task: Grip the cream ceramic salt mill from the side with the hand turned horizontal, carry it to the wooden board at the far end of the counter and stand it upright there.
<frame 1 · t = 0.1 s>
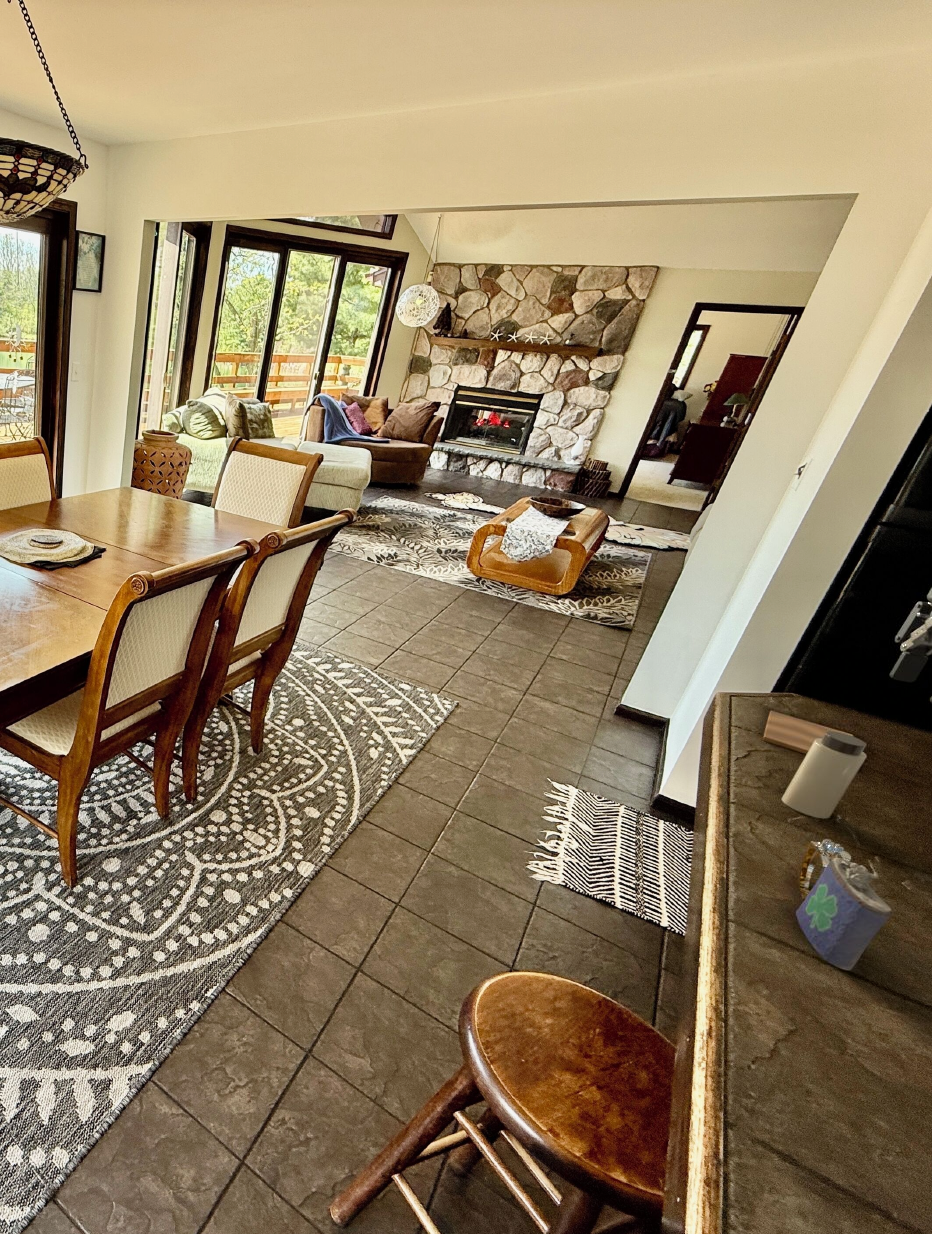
hand: (920, 692, 84), 22 cm above the countertop, tool pointing down, fingers open, 8 cm apart
ring: (800, 898, 79), on the countertop
flask: (815, 944, 73), on the countertop
wooden board: (807, 739, 118), on the countertop
salt mill: (805, 807, 97), on the countertop
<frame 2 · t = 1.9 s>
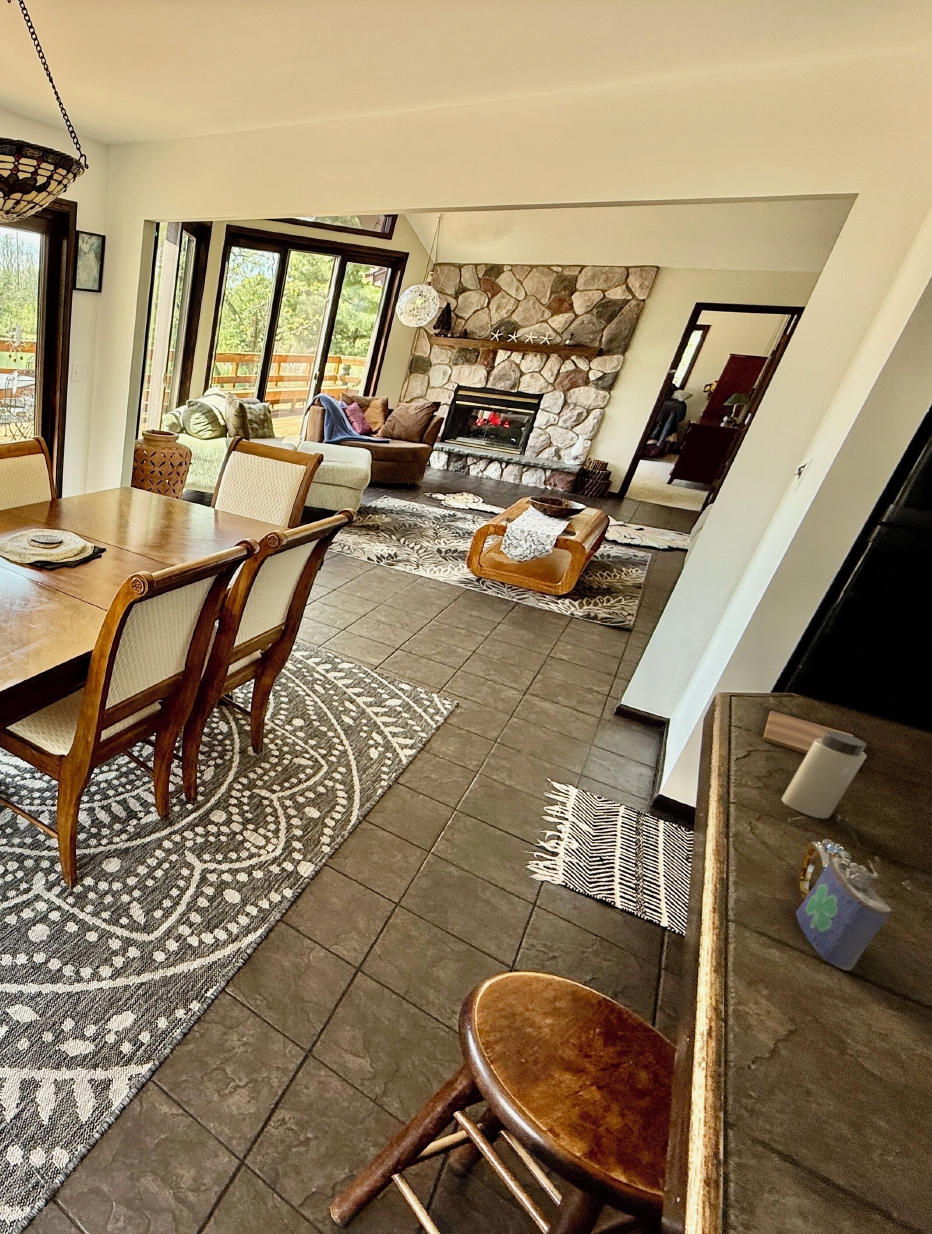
nothing on the countertop moved.
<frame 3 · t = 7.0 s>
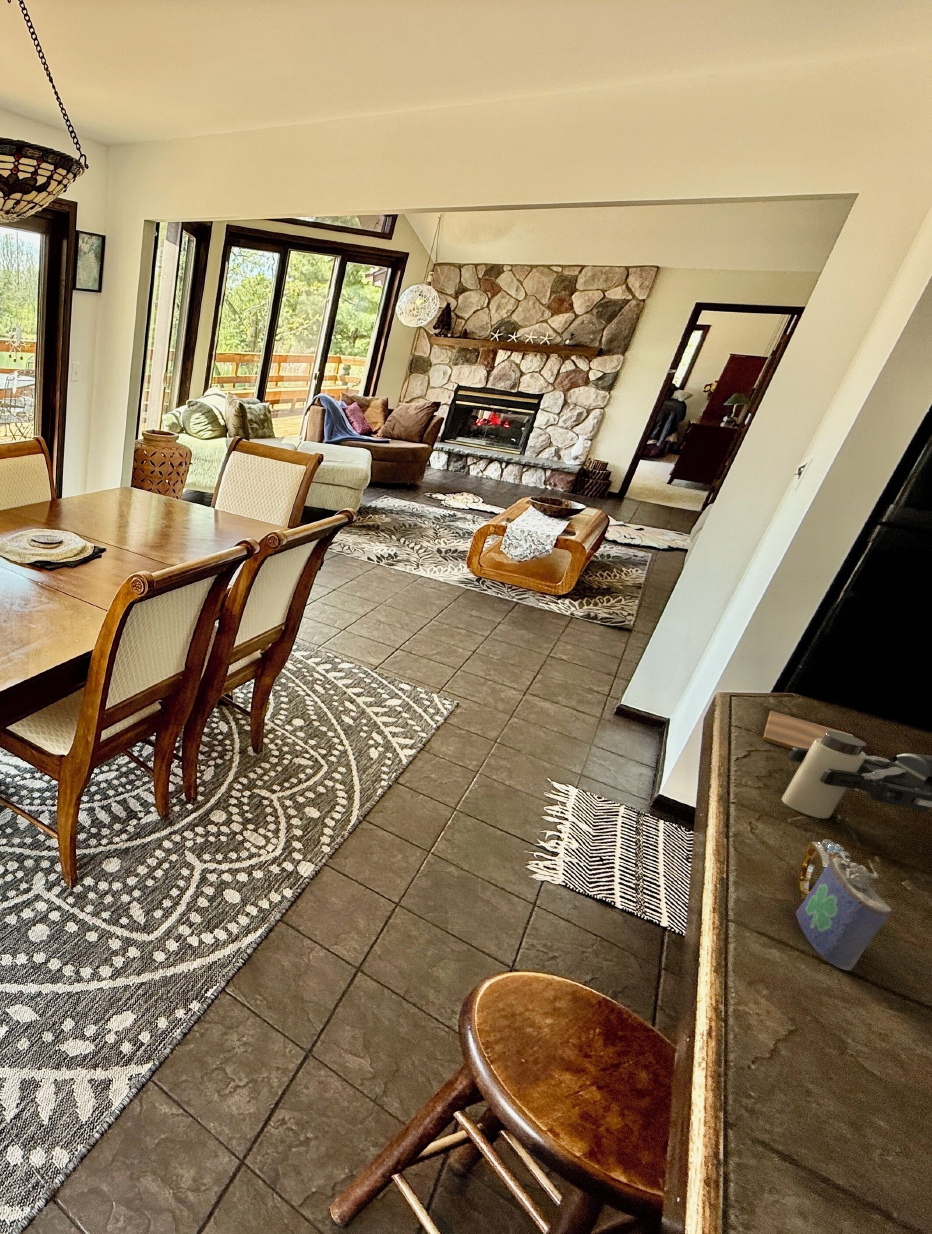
hand: (808, 764, 95), 7 cm above the countertop, tool horizontal, fingers closed on salt mill, 5 cm apart
salt mill: (805, 807, 97), on the countertop, touching gripper
everything else where it was.
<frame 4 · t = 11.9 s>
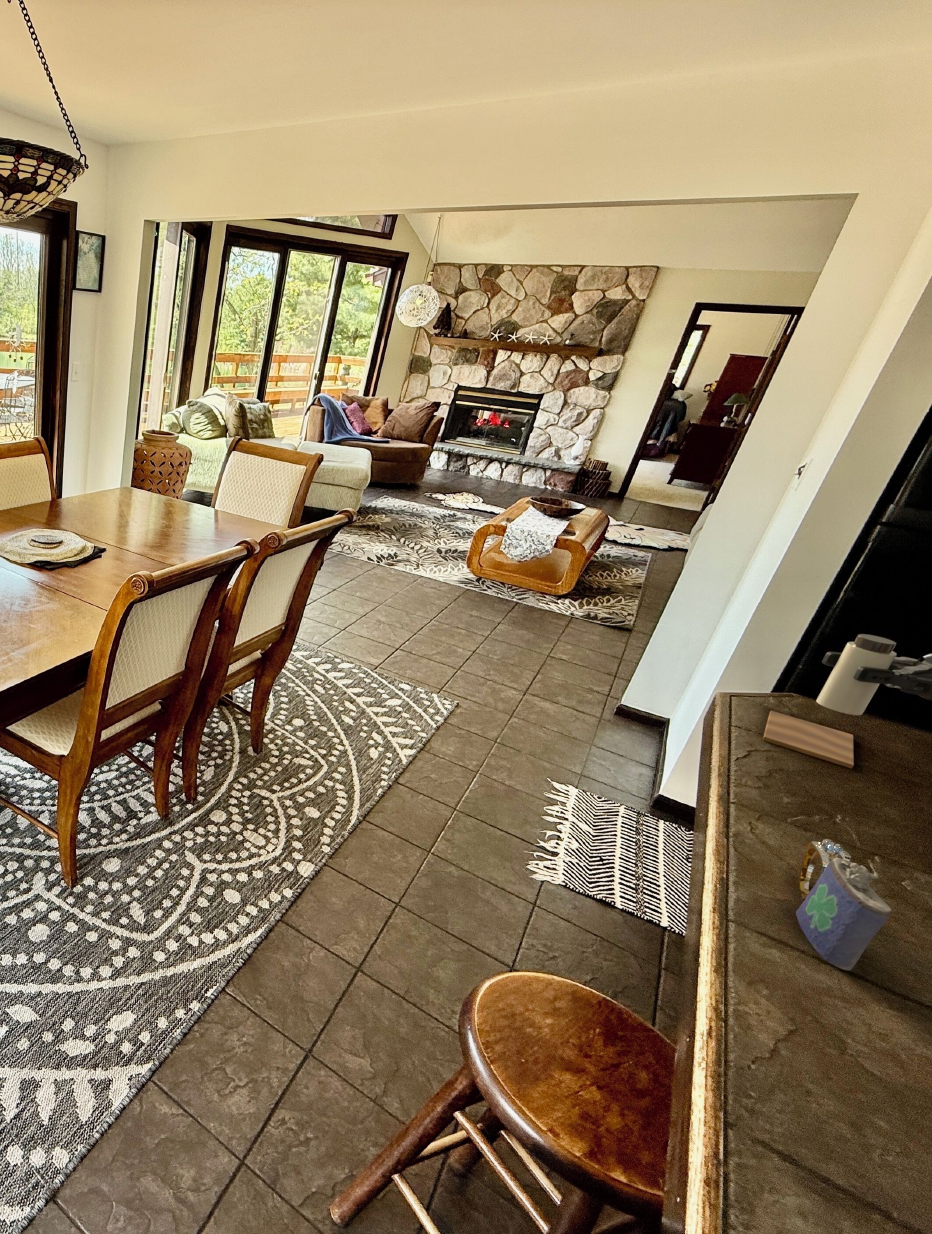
hand: (842, 665, 103), 18 cm above the countertop, tool horizontal, fingers closed on salt mill, 5 cm apart
salt mill: (838, 707, 105), point 11 cm above the countertop, touching gripper
everything else where it was.
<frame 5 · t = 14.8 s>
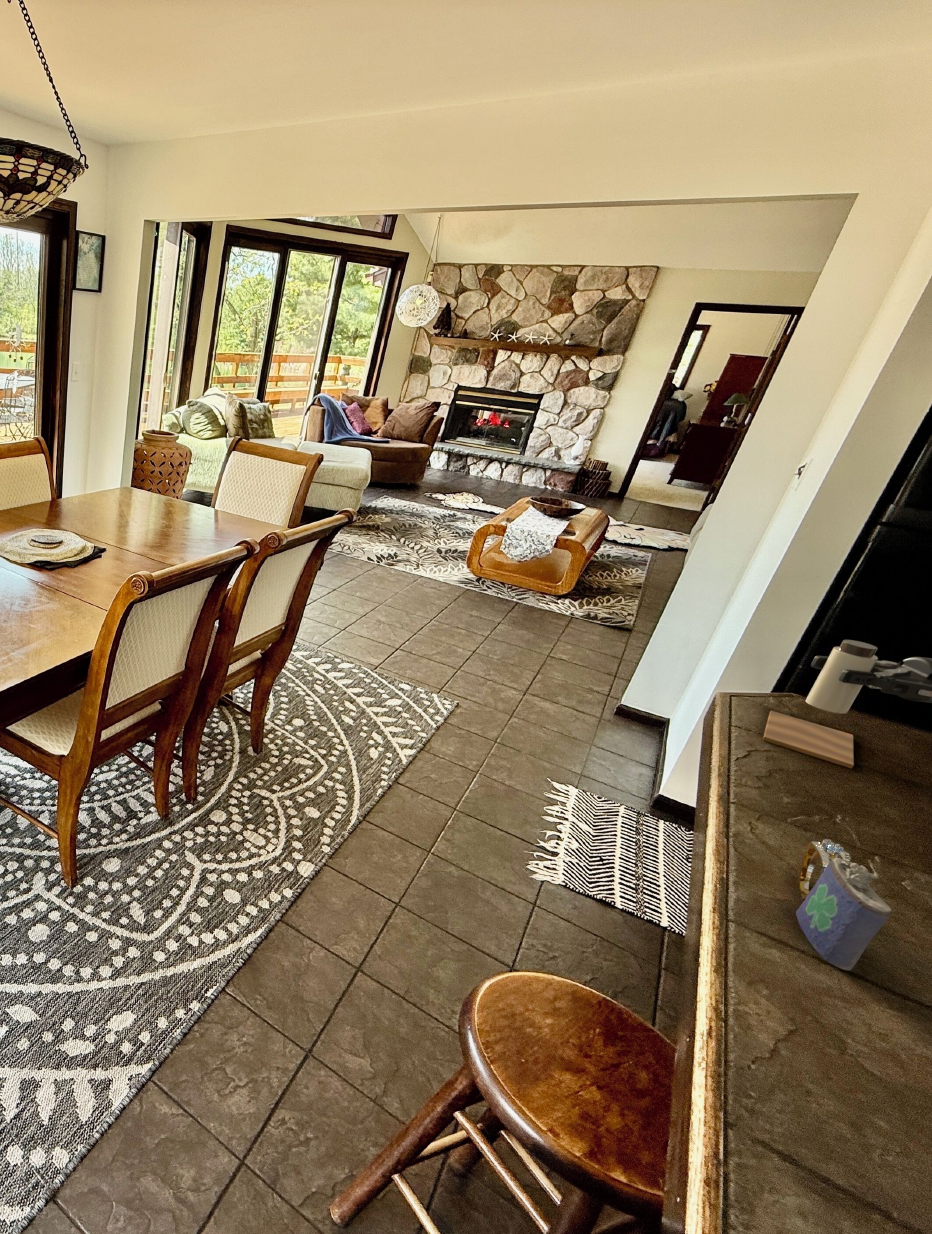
hand: (828, 668, 113), 14 cm above the countertop, tool horizontal, fingers closed on salt mill, 5 cm apart
salt mill: (825, 706, 115), point 7 cm above the countertop, touching gripper
everything else where it was.
when the fingers open (8 cm above the countertop, at t = 16.9 s): salt mill stays where it is, resting on wooden board.
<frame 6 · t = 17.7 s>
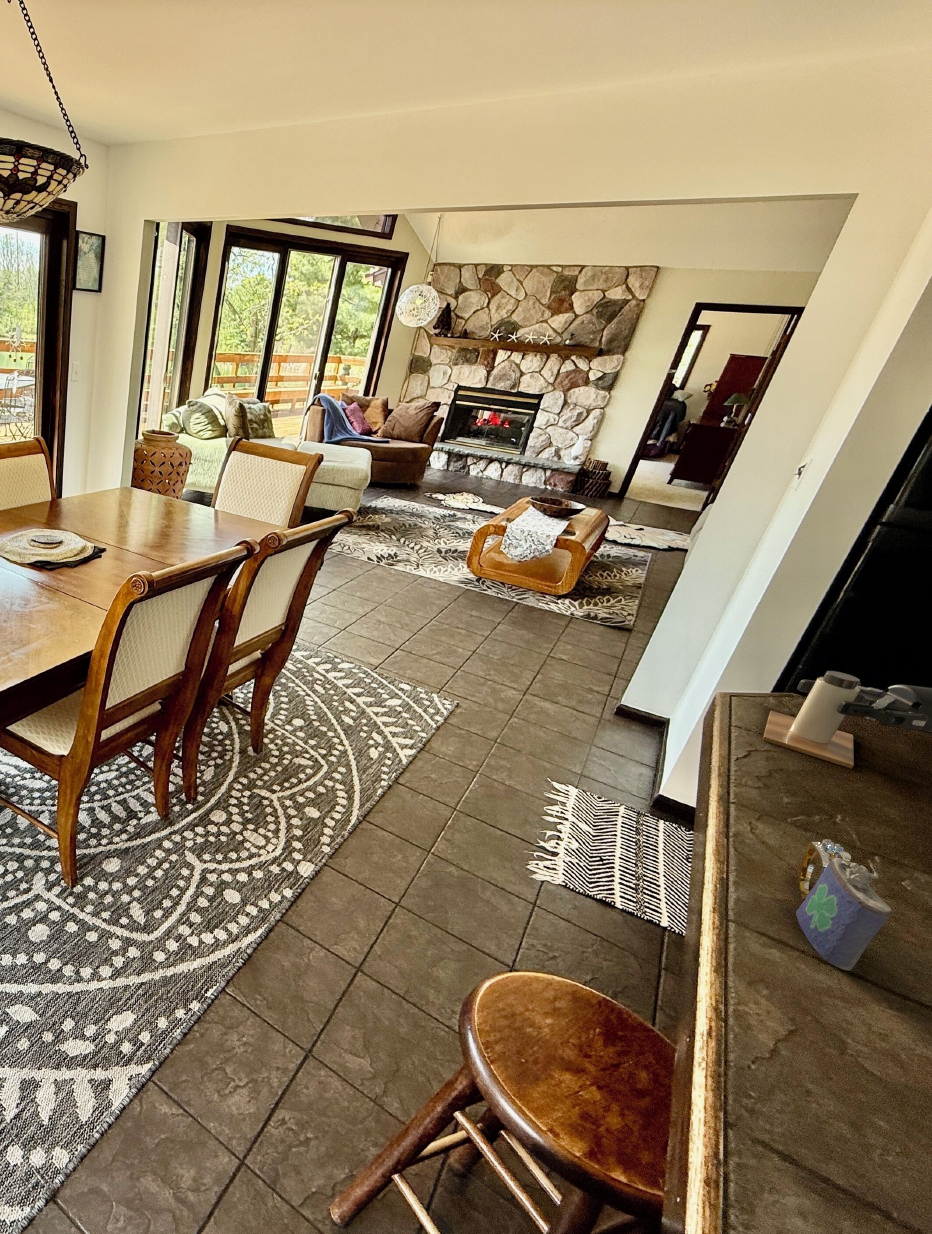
hand: (819, 695, 115), 9 cm above the countertop, tool horizontal, fingers open, 8 cm apart
salt mill: (809, 735, 117), point 1 cm above the countertop, touching wooden board
everything else where it was.
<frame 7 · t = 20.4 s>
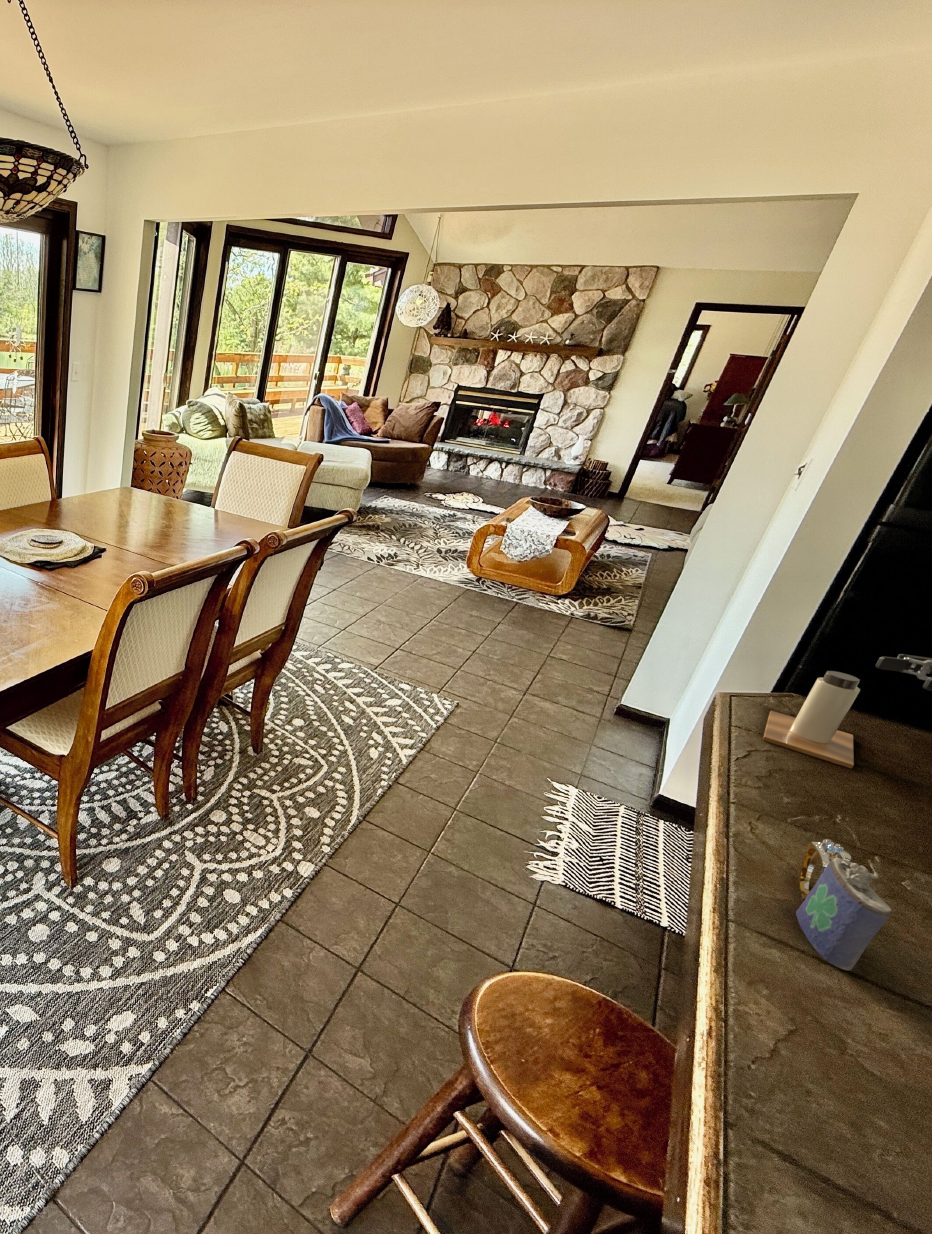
hand: (902, 672, 111), 15 cm above the countertop, tool horizontal, fingers open, 8 cm apart
nothing on the countertop moved.
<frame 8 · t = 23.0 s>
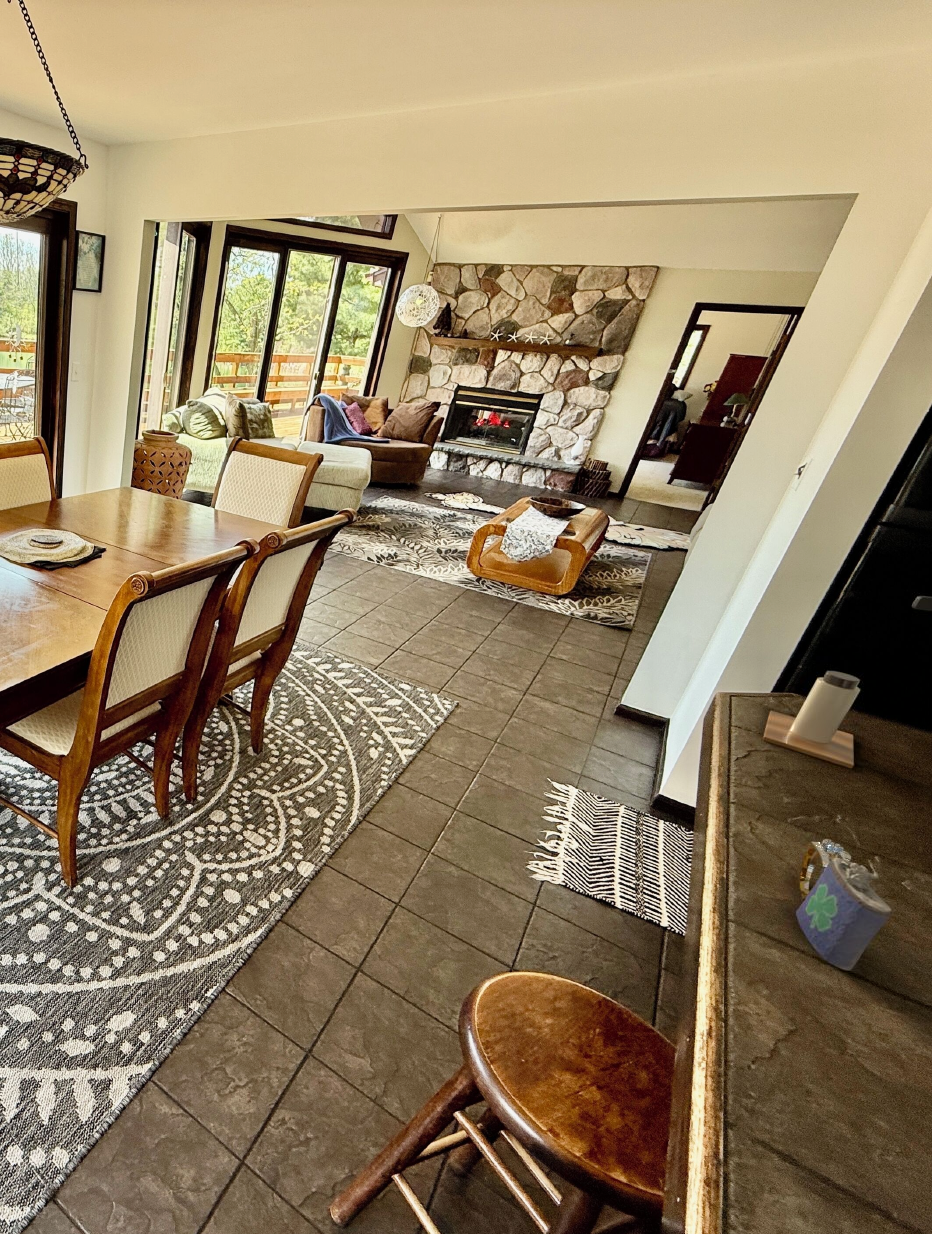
nothing on the countertop moved.
at the end: salt mill inside the target area on the wooden board (0.1 cm from its centre), point 0.8 cm above the wooden board's base; salt mill tilted 0°; the gripper is holding nothing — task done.
